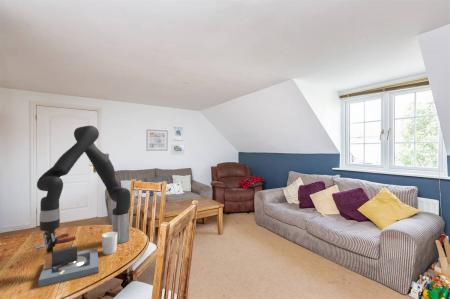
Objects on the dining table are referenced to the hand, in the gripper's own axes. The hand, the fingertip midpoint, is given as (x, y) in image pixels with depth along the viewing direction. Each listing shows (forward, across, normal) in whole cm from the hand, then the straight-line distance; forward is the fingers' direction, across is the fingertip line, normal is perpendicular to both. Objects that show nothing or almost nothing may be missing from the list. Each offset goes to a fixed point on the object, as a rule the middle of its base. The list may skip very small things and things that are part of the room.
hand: (49, 255), depth 107 cm
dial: (+7, -5, -5) cm, 10 cm away
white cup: (+8, -2, -27) cm, 28 cm away
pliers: (+9, +38, -12) cm, 40 cm away
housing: (+8, -5, -8) cm, 12 cm away
